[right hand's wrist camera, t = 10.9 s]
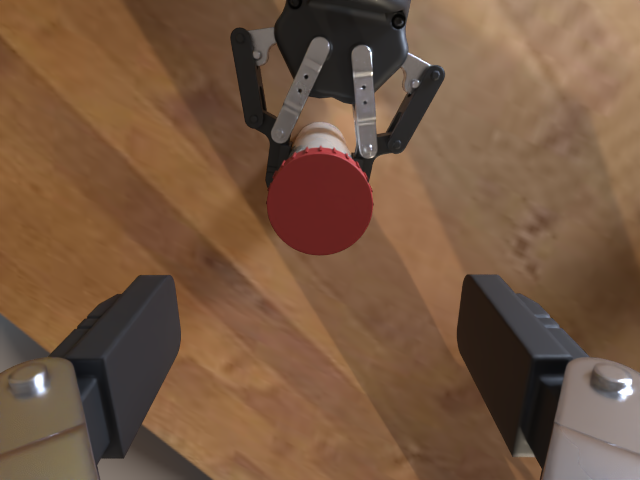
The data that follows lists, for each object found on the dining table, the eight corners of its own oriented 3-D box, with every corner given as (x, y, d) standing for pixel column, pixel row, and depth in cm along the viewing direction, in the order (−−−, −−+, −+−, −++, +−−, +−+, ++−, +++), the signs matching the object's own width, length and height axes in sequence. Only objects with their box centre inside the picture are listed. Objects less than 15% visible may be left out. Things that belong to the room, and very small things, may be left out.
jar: (341, 177, 37) (357, 252, 21) (291, 170, 37) (269, 240, 21) (350, 126, 36) (373, 165, 20) (297, 118, 35) (279, 151, 20)
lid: (360, 249, 23) (363, 263, 21) (264, 236, 22) (260, 249, 21) (378, 153, 21) (383, 160, 19) (275, 138, 21) (271, 144, 19)
